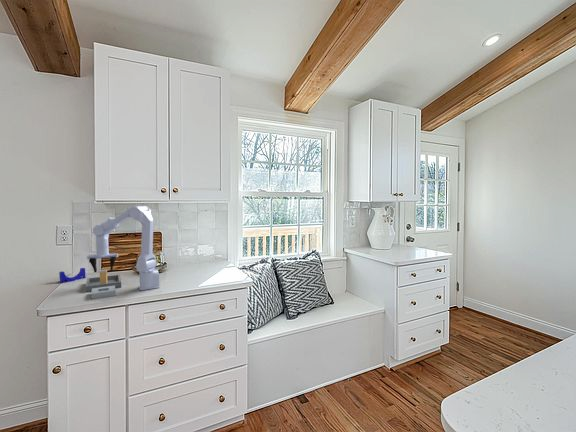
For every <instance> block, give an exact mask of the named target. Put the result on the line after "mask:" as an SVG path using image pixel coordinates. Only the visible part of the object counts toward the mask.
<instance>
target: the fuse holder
mask: <svg viewBox="0 0 576 432" xmlns="http://www.w3.org/2000/svg"><path fill="white" fill-rule="evenodd" d="M116 294H117V293H116V288H115V286H107V287H100V288H92V291H91V293H90V295H91V297H90V299H91V300H95V299H102V298H106V297H107V298H108V297H114V296H116Z"/></svg>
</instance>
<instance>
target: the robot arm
mask: <svg viewBox="0 0 576 432" xmlns="http://www.w3.org/2000/svg"><path fill="white" fill-rule="evenodd" d="M129 218H132V219H133V220H135V221H138V222H139V223H140V224H141V239H140V240H141V244H140V245H141V247H140V254H139V256H138V258H137V261H136V265H135V268H136V270H137V272H138V274H139V285H138V288H139V291H145V290H146V291H147V290H151V289H158V288H160V273H159V270H157V269H155V268H156V267H157V266H158V262H157V259H156V255H155V254H154V253H153V250H154V249H153V247H154V246H153V244H154V218H153V216H152V209H150V208H149V207H148V206H147V205H132V206H130V207H129V208H127V209H126V210H124V211H123V212H121V213H120V214H119V215H117V216H115V217H108V218H107V220H105V221H103V222H101V223H100V225H99V224H97V225H95V226H94V227H93V228H92V233H93V235H95V245H96V246H95V248H96V249H95V250H96V254H88V255H86V260H88V262H89V264H90V265H91V267H92V270H93V273H97V271H98V269H97V259H109V263H110V268H109V270H110V272H112V271H113V270H114V265H115V262H116V260H117V258H119V253H110V251H109V250H110V247H109V238H110V233H111V231H113V230H115V229H116V228H118V227H119V226H120V223H123V222H124V221H126V220H128V219H129Z"/></svg>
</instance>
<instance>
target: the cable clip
mask: <svg viewBox="0 0 576 432" xmlns="http://www.w3.org/2000/svg"><path fill="white" fill-rule="evenodd" d="M65 273H66V272H65V271H59V272H58V275H59V283H61V284H65V283H70V282H75V281H78V280H83V279H87V277H86V267H81V268H80V270H79V272H78V274H76V275H75V276H72V277H70V276H67V275H66V274H65Z"/></svg>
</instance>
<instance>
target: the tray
mask: <svg viewBox="0 0 576 432" xmlns="http://www.w3.org/2000/svg"><path fill="white" fill-rule="evenodd" d="M121 278H122V277H121V274H120V273H119V274H113V275H107V282H108V283H105V284H100V276H95V277H86V283H85V286H84V287H85V293H90V292H92V288H100V287H107V286H115V289H119V288H122V279H121Z"/></svg>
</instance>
